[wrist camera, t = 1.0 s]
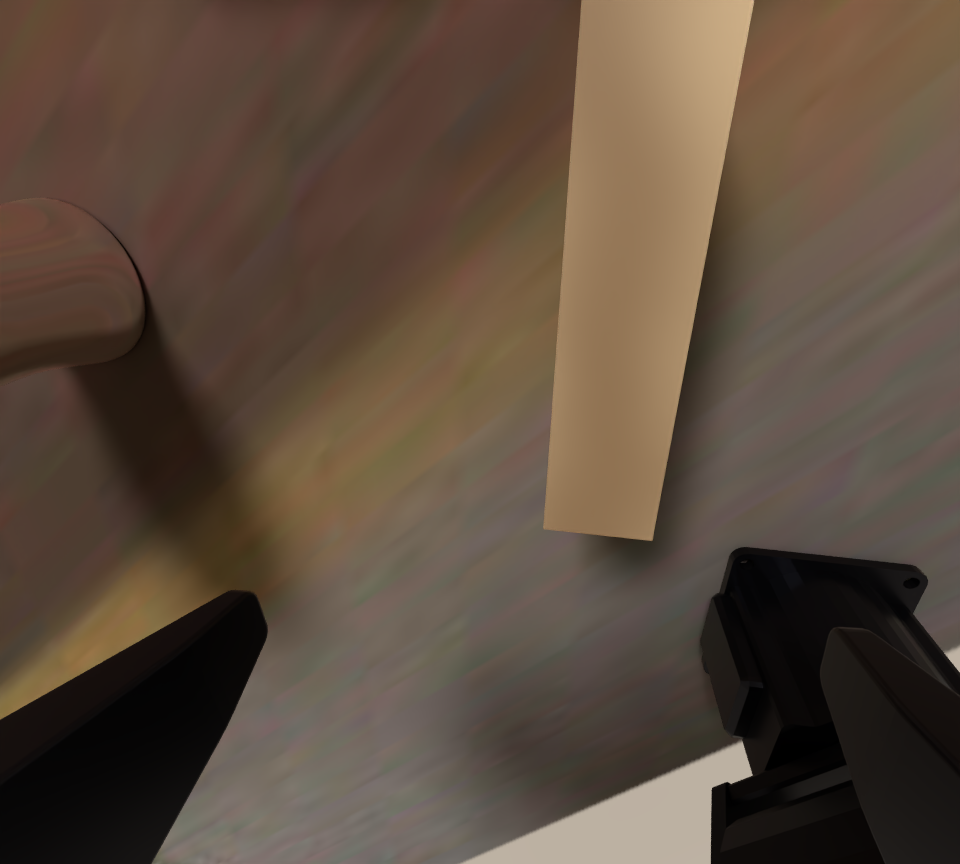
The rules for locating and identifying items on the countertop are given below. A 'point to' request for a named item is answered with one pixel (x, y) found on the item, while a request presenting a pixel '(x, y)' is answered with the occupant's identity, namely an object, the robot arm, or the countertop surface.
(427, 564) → the countertop surface
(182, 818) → the countertop surface
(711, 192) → the tan block
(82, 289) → the beer glass
